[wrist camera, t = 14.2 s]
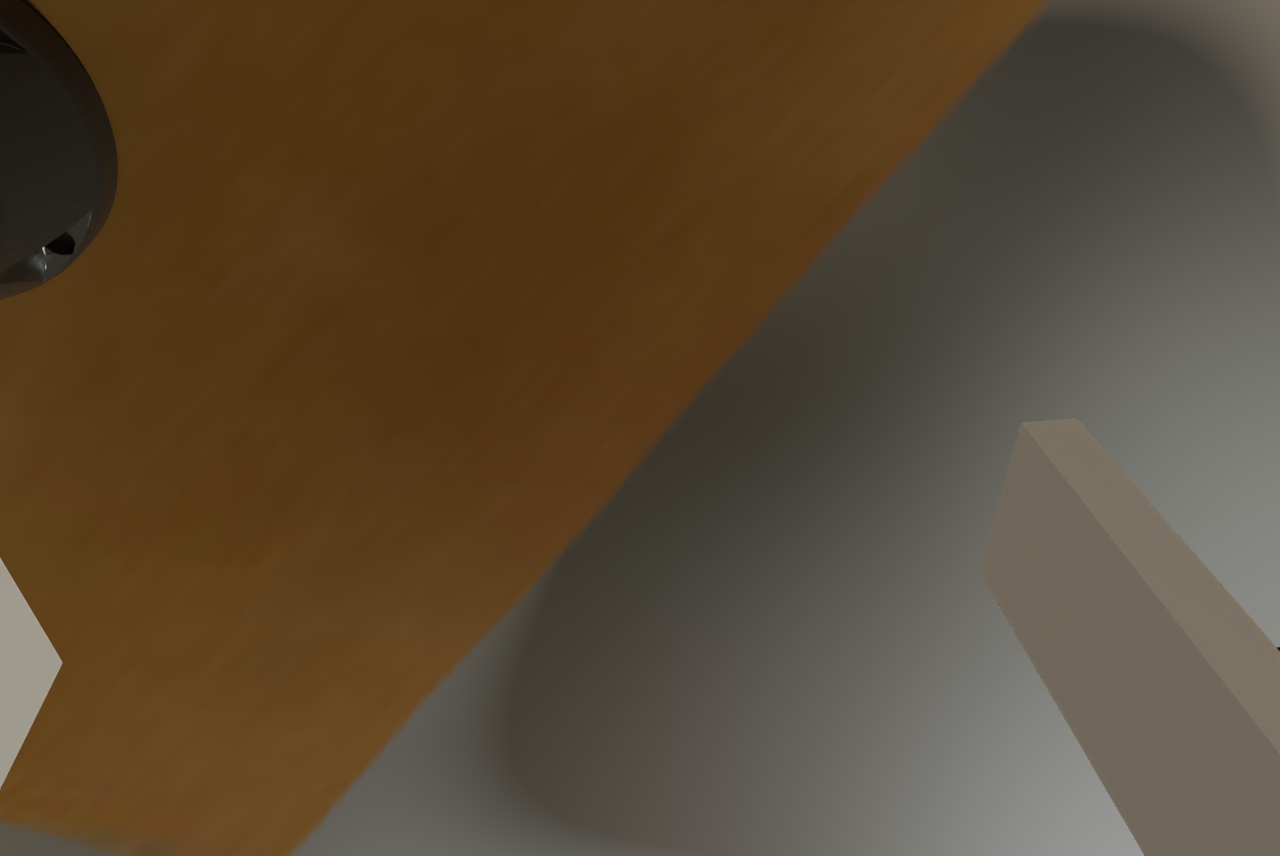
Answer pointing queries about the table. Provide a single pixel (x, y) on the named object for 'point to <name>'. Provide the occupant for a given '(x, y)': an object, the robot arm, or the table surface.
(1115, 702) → the robot arm
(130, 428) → the table surface
